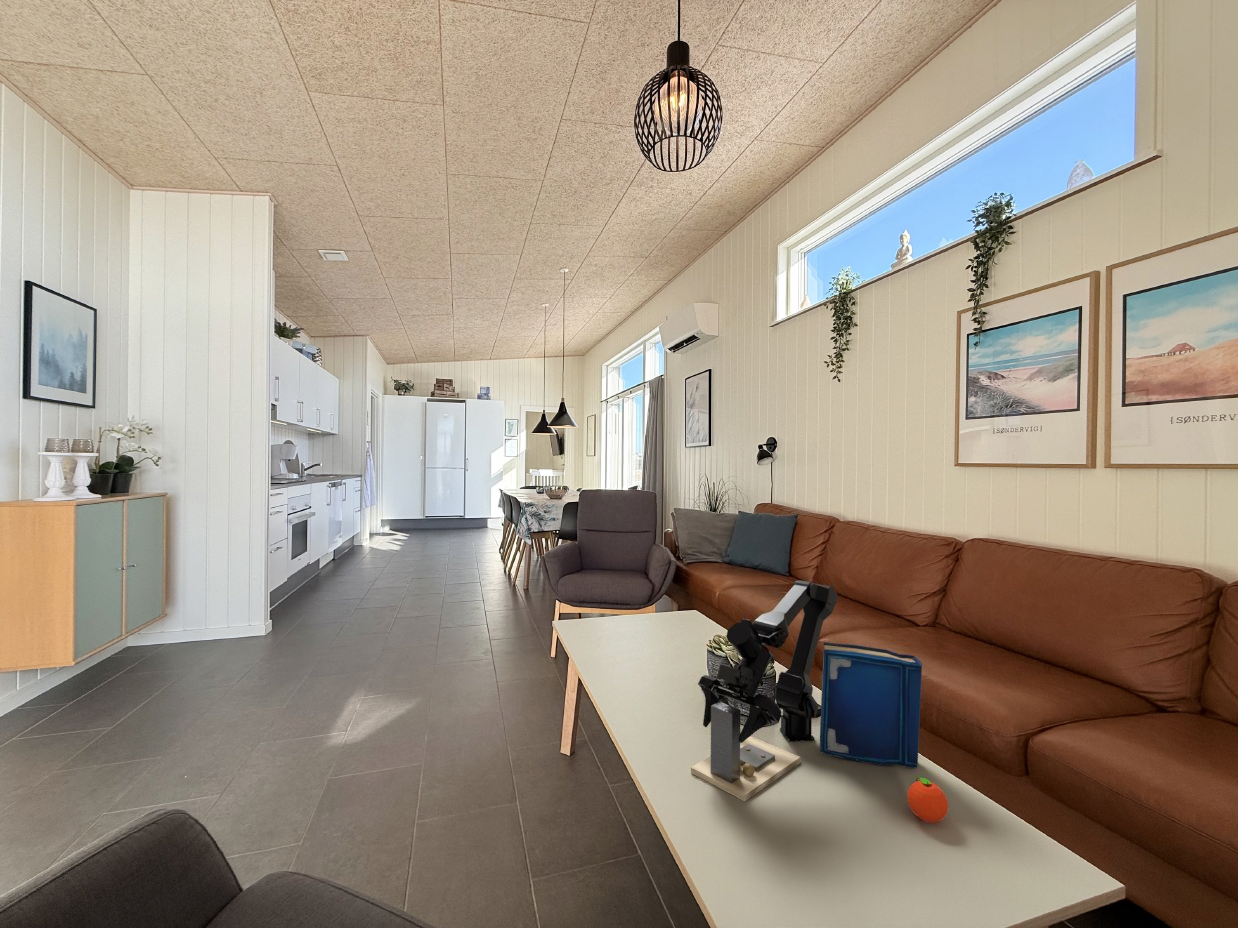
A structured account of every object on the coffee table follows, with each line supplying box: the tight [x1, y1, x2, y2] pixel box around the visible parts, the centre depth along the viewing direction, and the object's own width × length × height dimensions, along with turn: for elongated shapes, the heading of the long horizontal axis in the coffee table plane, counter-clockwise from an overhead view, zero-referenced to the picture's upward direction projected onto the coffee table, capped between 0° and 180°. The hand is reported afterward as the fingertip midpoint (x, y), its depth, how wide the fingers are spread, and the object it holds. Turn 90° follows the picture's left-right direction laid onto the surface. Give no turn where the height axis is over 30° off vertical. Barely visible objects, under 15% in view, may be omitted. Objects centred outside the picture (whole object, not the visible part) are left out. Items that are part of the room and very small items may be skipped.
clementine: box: [906, 777, 949, 823], centre depth 108 cm, size 8×7×7 cm
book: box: [819, 642, 923, 769], centre depth 130 cm, size 22×7×25 cm, turn 71°
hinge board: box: [690, 735, 801, 802], centre depth 125 cm, size 22×14×3 cm, turn 133°
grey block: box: [710, 701, 743, 784], centre depth 121 cm, size 6×6×14 cm
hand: (721, 733), depth 119 cm, fingers open, 9 cm apart
